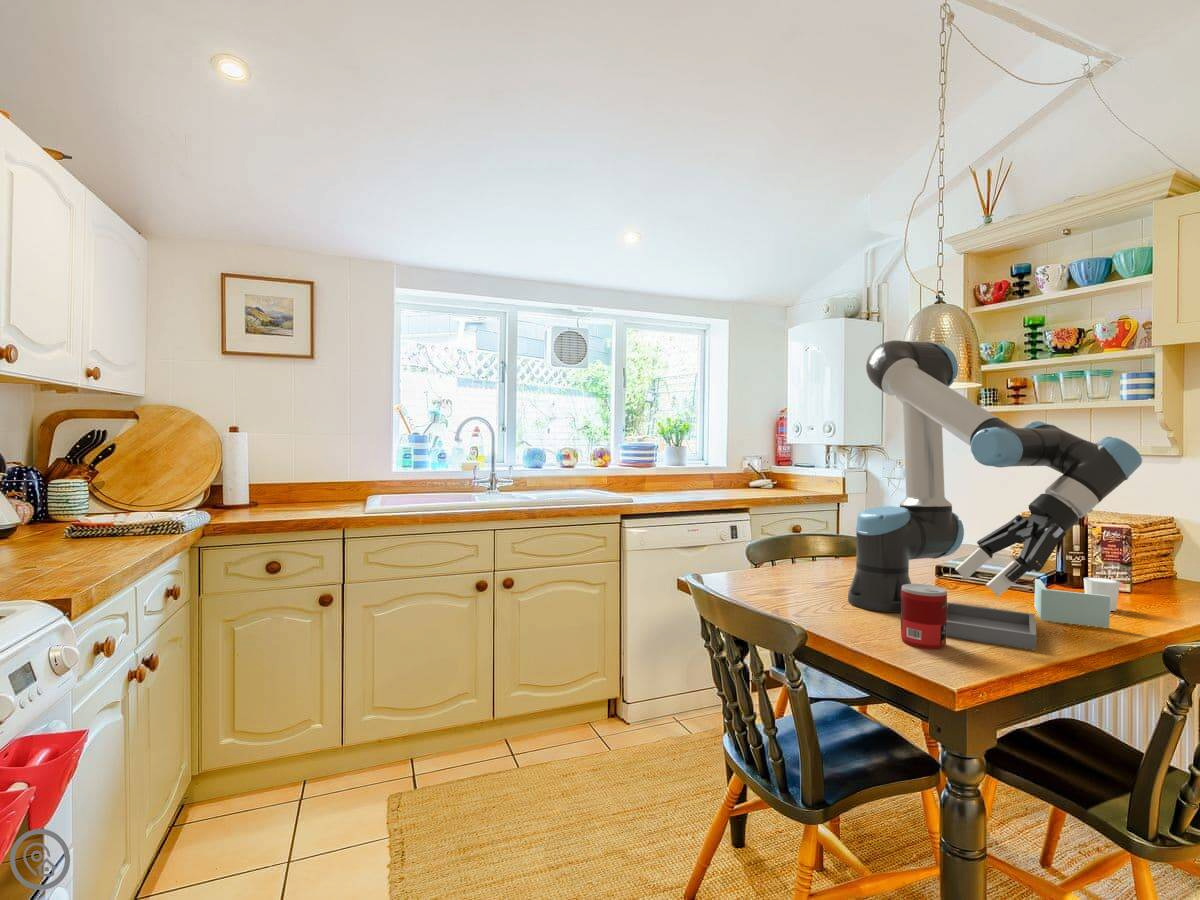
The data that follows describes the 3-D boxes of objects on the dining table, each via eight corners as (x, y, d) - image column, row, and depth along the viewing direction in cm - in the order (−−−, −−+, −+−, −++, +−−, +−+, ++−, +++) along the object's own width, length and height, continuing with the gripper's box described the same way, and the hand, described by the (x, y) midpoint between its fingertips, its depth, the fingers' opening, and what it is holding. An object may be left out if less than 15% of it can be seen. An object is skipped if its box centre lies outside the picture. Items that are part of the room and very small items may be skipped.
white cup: (1116, 614, 143) (1116, 584, 143) (1079, 608, 149) (1080, 579, 148) (1122, 609, 148) (1122, 580, 148) (1086, 603, 153) (1086, 575, 153)
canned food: (951, 651, 118) (952, 593, 118) (906, 648, 120) (907, 591, 120) (938, 638, 126) (939, 584, 126) (896, 635, 128) (897, 582, 127)
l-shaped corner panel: (1109, 631, 133) (1110, 596, 133) (1040, 622, 139) (1041, 589, 138) (1097, 617, 143) (1098, 585, 143) (1034, 609, 149) (1035, 578, 149)
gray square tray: (935, 634, 128) (935, 620, 128) (943, 614, 142) (944, 601, 142) (1036, 650, 119) (1036, 635, 119) (1034, 628, 133) (1034, 614, 133)
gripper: (1121, 529, 105) (1024, 614, 108) (1040, 512, 130) (962, 581, 132) (1087, 498, 106) (991, 582, 108) (1012, 486, 131) (936, 555, 133)
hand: (975, 582), depth 120 cm, fingers open, 13 cm apart
